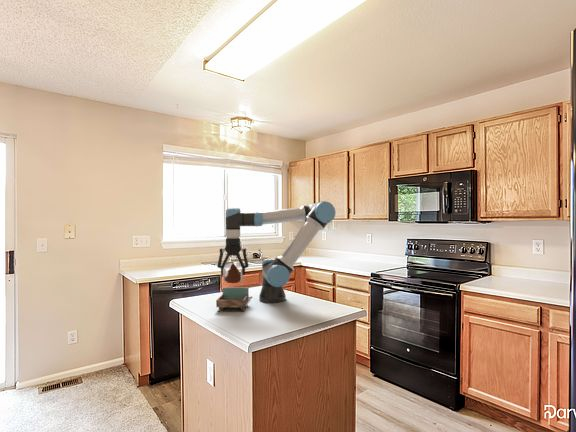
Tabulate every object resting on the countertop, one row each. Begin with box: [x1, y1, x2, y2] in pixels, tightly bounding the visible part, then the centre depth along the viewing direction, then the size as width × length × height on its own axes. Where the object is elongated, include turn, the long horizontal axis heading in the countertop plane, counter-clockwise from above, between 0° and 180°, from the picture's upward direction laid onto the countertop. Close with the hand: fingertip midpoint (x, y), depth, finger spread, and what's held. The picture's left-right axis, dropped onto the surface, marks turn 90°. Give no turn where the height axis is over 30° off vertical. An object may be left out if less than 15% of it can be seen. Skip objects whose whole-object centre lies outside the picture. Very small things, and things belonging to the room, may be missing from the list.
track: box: [217, 296, 253, 313], centre depth 180 cm, size 13×32×1 cm, turn 178°
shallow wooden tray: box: [215, 287, 250, 310], centre depth 171 cm, size 14×14×9 cm
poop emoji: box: [224, 263, 241, 284], centre depth 172 cm, size 10×8×9 cm
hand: (233, 281), depth 172 cm, fingers closed on poop emoji, 8 cm apart
